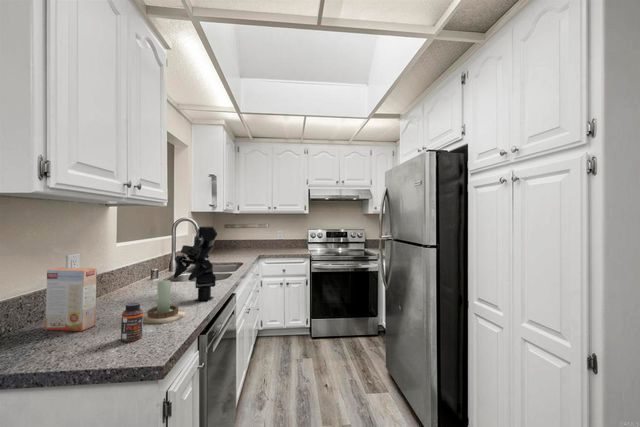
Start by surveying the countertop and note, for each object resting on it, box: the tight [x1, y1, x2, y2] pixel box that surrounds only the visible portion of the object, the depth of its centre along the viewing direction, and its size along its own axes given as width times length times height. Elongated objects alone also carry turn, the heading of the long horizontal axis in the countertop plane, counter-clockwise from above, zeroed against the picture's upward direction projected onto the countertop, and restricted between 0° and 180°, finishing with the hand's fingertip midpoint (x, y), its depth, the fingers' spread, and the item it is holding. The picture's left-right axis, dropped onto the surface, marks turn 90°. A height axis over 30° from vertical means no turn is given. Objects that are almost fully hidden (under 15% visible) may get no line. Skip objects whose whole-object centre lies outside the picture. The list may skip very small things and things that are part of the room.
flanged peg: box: [154, 279, 173, 313], centre depth 117 cm, size 7×7×13 cm
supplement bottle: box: [120, 301, 144, 343], centre depth 95 cm, size 6×6×11 cm
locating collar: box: [143, 304, 186, 325], centre depth 117 cm, size 16×16×3 cm
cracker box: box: [44, 267, 98, 332], centre depth 104 cm, size 14×6×21 cm, turn 84°
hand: (181, 278), depth 124 cm, fingers open, 9 cm apart
